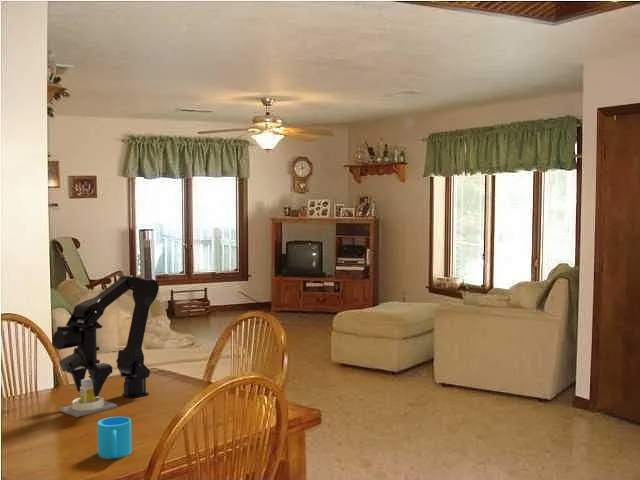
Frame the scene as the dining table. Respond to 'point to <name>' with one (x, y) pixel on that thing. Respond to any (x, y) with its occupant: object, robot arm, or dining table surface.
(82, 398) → the supplement bottle
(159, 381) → the dining table surface
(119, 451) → the mug
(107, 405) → the holder board
